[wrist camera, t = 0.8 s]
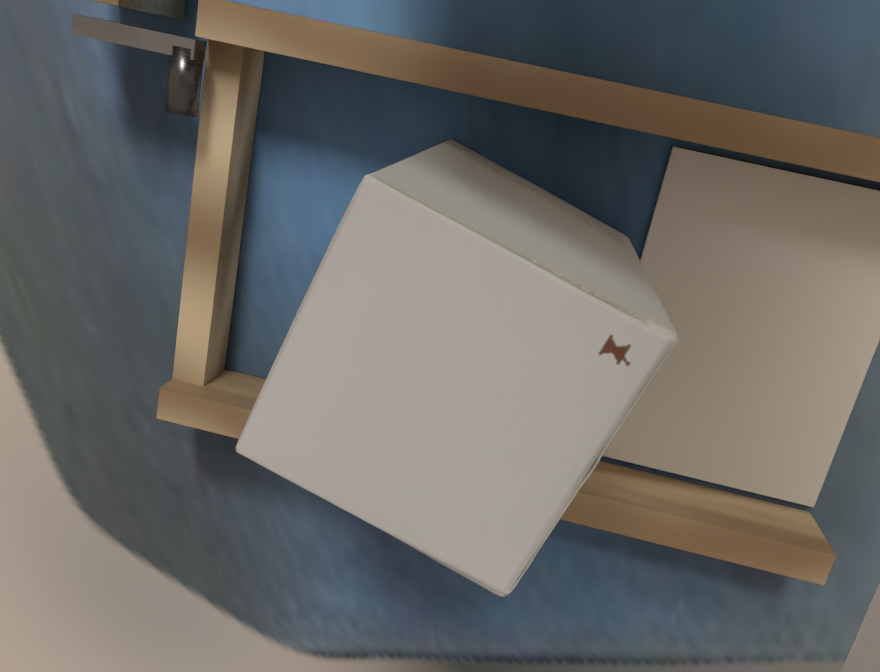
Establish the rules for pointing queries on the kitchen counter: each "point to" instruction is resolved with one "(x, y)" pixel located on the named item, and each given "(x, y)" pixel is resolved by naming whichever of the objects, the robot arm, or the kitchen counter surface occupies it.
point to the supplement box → (460, 362)
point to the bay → (258, 30)
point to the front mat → (756, 324)
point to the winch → (156, 48)
